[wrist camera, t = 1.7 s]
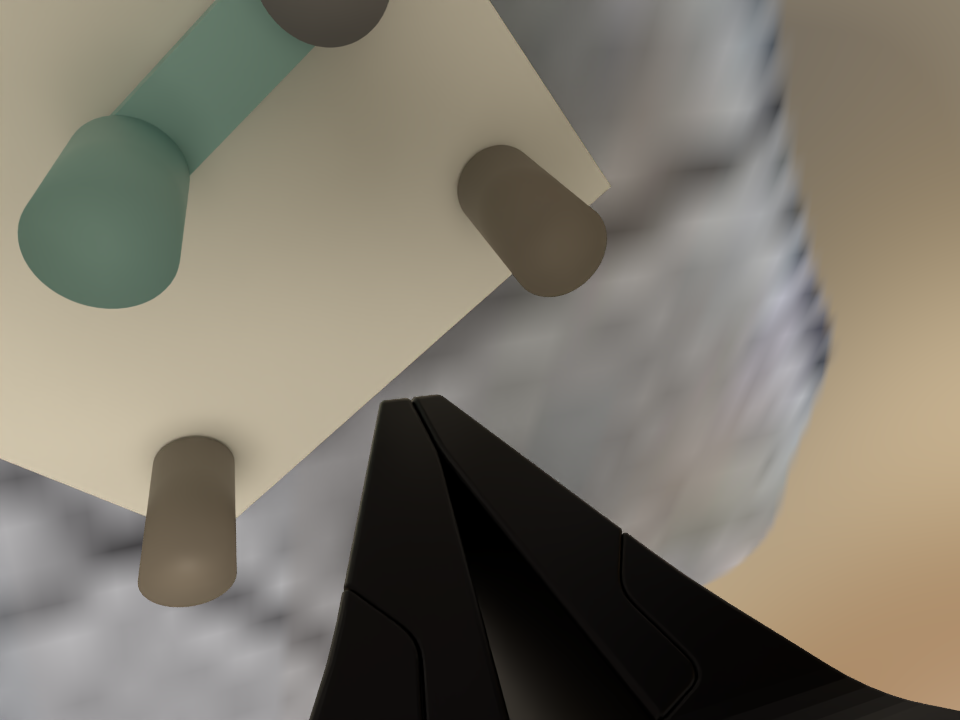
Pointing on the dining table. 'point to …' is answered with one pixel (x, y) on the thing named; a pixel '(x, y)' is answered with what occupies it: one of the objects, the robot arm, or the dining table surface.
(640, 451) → the dining table surface
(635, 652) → the robot arm
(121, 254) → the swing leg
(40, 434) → the cream square peg board
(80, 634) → the dining table surface
